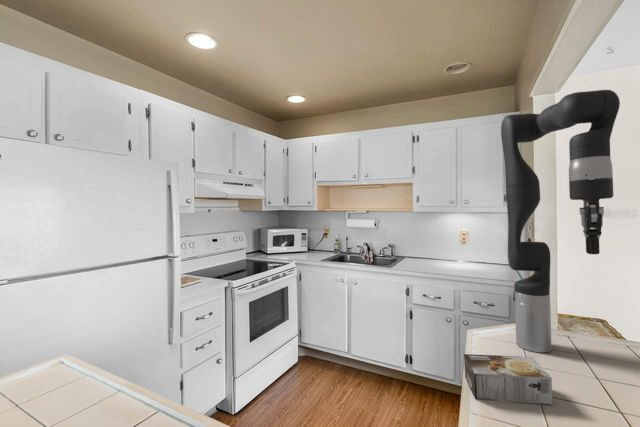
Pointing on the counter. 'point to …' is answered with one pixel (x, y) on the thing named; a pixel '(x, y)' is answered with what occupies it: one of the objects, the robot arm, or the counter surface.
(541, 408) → the counter surface
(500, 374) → the coffee box
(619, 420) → the counter surface
